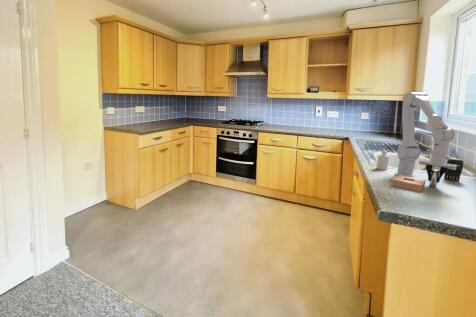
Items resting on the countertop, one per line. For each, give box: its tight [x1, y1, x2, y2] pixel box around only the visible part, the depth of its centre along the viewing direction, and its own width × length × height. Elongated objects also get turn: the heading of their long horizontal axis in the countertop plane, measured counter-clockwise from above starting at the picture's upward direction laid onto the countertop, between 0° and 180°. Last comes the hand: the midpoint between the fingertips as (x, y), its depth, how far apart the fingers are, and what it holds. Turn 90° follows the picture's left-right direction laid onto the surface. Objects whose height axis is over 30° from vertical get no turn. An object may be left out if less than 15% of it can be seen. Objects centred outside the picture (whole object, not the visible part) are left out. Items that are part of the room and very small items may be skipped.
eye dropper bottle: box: [375, 148, 390, 170], centre depth 164 cm, size 4×6×12 cm
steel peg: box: [428, 168, 440, 188], centre depth 135 cm, size 3×3×8 cm
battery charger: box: [443, 157, 465, 182], centre depth 147 cm, size 7×4×11 cm, turn 57°
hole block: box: [391, 175, 426, 192], centre depth 136 cm, size 12×12×3 cm
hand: (433, 181), depth 136 cm, fingers closed on steel peg, 3 cm apart
